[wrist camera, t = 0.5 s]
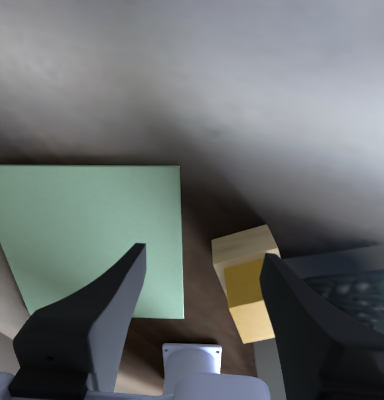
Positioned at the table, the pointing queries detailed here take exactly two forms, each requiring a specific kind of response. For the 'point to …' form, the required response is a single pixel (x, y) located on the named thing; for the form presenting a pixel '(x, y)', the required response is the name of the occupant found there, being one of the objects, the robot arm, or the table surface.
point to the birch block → (241, 249)
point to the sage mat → (92, 230)
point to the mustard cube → (248, 302)
